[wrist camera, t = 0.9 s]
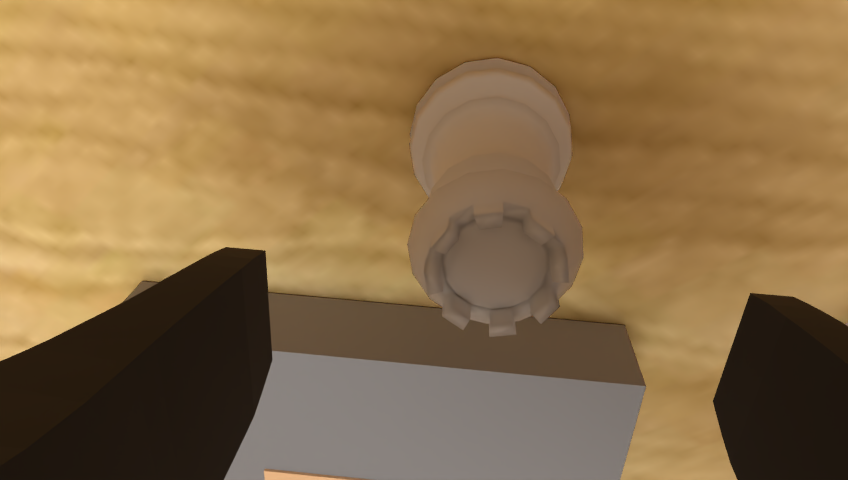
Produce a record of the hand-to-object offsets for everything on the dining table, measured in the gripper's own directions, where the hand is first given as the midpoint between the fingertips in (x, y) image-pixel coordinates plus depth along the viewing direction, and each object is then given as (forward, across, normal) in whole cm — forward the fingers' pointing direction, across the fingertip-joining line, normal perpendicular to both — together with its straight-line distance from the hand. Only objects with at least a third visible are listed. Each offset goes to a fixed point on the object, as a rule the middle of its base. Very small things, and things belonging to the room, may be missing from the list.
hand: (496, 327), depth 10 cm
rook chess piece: (+10, 0, 0) cm, 10 cm away
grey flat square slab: (+10, +3, +14) cm, 17 cm away
